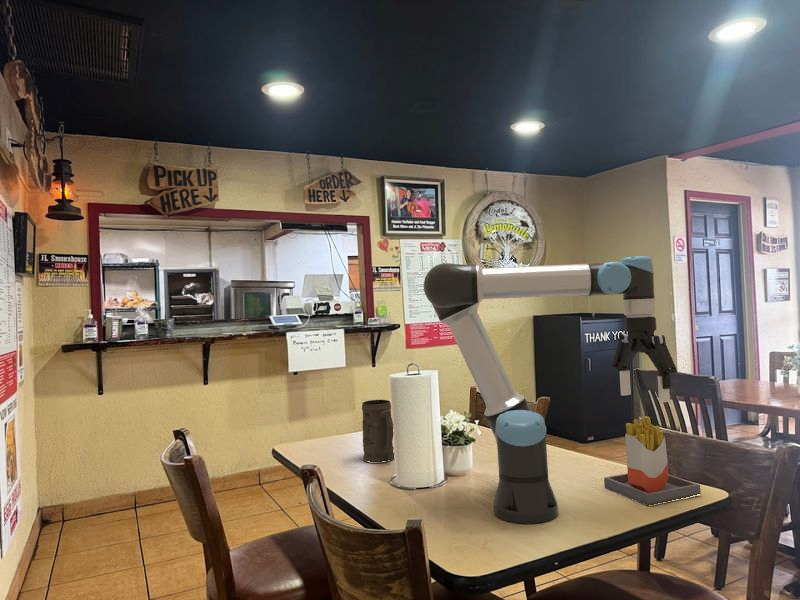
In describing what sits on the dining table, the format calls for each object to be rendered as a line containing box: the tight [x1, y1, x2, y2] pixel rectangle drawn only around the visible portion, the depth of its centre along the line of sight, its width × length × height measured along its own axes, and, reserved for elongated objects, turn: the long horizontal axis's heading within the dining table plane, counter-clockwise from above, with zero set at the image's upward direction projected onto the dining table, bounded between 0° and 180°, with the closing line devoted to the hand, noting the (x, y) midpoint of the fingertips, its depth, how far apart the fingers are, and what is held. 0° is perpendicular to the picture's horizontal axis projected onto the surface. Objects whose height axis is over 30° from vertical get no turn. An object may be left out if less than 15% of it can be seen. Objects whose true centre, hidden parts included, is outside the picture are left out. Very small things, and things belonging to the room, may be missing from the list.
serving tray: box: [603, 472, 702, 506], centre depth 146 cm, size 16×16×3 cm
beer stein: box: [361, 399, 395, 462], centre depth 191 cm, size 15×11×20 cm
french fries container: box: [624, 415, 670, 493], centre depth 145 cm, size 5×11×18 cm, turn 122°
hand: (644, 398), depth 146 cm, fingers open, 13 cm apart
